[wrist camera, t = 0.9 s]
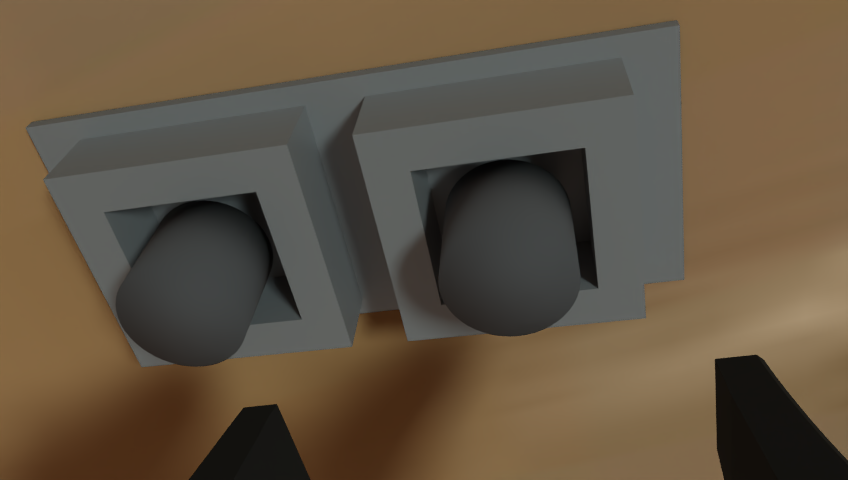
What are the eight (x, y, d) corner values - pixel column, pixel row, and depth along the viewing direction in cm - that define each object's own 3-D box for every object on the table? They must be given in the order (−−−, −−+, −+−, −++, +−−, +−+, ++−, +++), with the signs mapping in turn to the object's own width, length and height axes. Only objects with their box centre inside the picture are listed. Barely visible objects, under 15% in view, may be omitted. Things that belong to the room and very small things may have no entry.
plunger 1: (252, 193, 18) (221, 257, 16) (287, 290, 20) (263, 360, 18) (138, 208, 19) (93, 272, 16) (181, 302, 20) (145, 371, 18)
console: (677, 20, 17) (698, 60, 15) (682, 272, 20) (699, 329, 18) (31, 122, 19) (-17, 167, 17) (137, 330, 23) (106, 384, 21)
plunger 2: (564, 150, 17) (573, 215, 15) (576, 257, 18) (585, 329, 16) (434, 169, 17) (426, 232, 15) (456, 271, 19) (451, 342, 17)
